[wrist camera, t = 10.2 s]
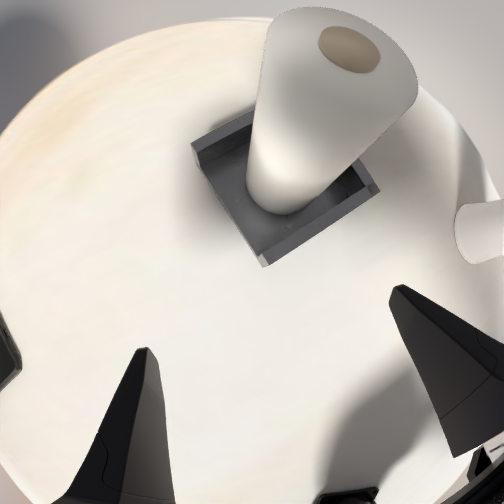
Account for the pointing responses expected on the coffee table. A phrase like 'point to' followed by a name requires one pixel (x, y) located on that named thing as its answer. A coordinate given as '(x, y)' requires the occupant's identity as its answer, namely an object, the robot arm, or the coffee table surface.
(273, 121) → the paper roll
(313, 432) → the coffee table surface
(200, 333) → the coffee table surface
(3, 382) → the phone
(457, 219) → the cosmetic bottle
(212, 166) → the tray
